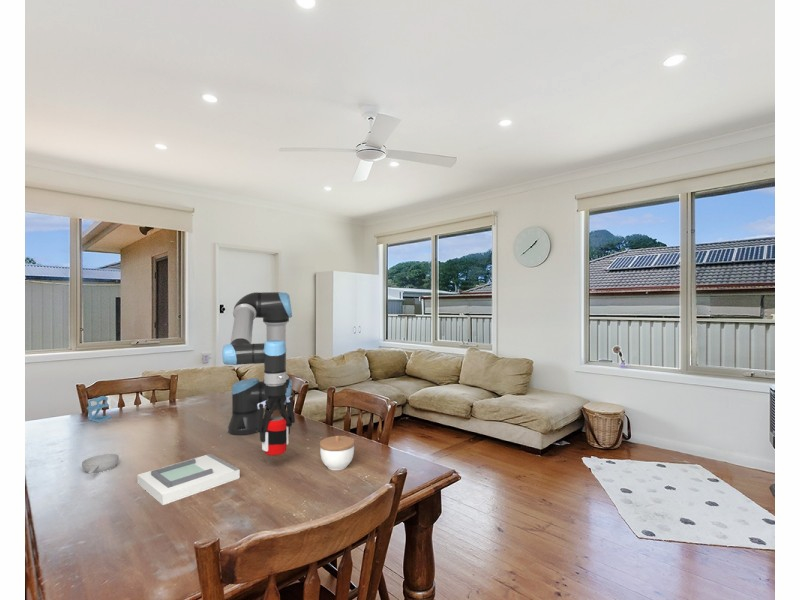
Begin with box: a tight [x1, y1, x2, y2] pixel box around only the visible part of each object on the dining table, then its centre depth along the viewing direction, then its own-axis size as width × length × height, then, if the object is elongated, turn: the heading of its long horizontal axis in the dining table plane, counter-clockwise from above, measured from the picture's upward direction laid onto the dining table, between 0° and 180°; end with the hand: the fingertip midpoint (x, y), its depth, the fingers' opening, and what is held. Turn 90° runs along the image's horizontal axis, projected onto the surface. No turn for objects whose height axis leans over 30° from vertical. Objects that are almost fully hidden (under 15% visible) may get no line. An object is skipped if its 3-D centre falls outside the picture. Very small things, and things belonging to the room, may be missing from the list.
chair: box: [86, 395, 112, 423], centre depth 209 cm, size 8×8×12 cm
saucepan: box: [81, 453, 120, 474], centre depth 144 cm, size 11×18×4 cm, turn 23°
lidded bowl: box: [319, 435, 355, 471], centre depth 149 cm, size 13×13×11 cm
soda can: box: [263, 415, 287, 456], centre depth 147 cm, size 8×8×12 cm
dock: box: [137, 453, 241, 506], centre depth 137 cm, size 24×22×4 cm
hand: (275, 446), depth 147 cm, fingers closed on soda can, 7 cm apart
